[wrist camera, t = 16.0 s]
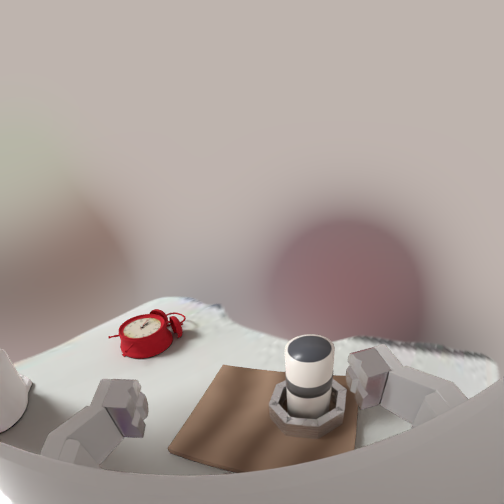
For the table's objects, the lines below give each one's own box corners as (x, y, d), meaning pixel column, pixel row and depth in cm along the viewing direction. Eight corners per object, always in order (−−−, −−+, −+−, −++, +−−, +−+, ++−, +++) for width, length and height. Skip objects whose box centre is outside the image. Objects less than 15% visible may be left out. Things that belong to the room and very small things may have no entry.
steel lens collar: (263, 432, 28) (262, 420, 27) (281, 384, 36) (280, 371, 35) (340, 440, 25) (342, 428, 24) (346, 389, 33) (347, 375, 32)
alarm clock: (102, 332, 47) (157, 289, 57) (117, 355, 50) (168, 312, 60) (127, 353, 41) (188, 300, 51) (144, 377, 44) (200, 325, 54)
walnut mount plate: (170, 452, 26) (167, 448, 26) (224, 369, 42) (223, 364, 41) (348, 486, 20) (349, 483, 19) (358, 381, 35) (359, 376, 35)
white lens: (279, 419, 30) (274, 357, 27) (298, 392, 34) (297, 330, 31) (319, 431, 27) (324, 369, 24) (335, 402, 31) (341, 338, 28)
